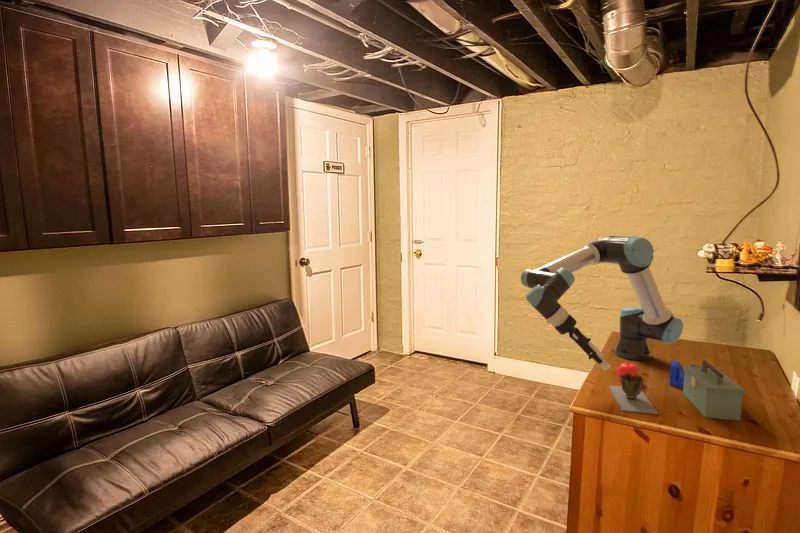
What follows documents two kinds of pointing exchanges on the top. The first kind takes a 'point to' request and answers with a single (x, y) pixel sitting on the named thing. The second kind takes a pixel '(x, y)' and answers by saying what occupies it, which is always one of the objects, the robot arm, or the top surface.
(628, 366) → the apple
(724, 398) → the toolbox
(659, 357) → the top surface
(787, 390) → the top surface
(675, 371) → the bracket
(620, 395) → the rubber mat
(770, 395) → the top surface
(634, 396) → the cup
